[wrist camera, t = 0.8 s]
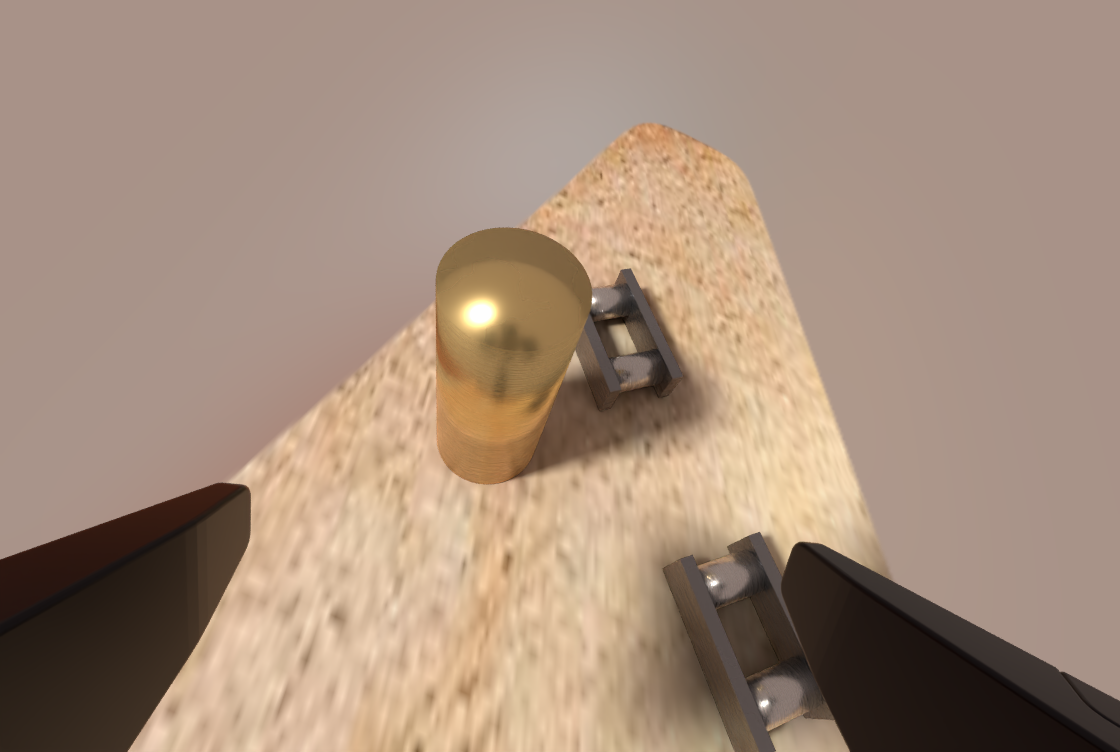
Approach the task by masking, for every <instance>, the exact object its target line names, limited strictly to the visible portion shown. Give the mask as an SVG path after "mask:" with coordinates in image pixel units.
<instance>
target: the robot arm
mask: <svg viewBox="0 0 1120 752" xmlns="http://www.w3.org/2000/svg"><path fill="white" fill-rule="evenodd" d="M250 531H251V493H250V490H249V488H248V487H247V486H246V485H241V484H231V483H216V484H213V485H210V486H208V487H205V488H202V489H199V490H196V491H193V492H190V493H188V494H185V495H182V496H179V497H176V498H174V499H171V500H168V501H165V502H162V503H159V504H156V505H154V506H151V507H148V508H145V509H142V510H140V511H137V512H134V513H131V514H128V515H125V516H122V517H120V518H117V519H114V520H111V521H108V522H105V523H103V524H100V525H97V526H94V527H92V528H89V529H85V530H83V531H80V532H77V533H74V534H71V535H68V536H66V537H63V538H60V539H57V540H54V541H51V542H49V543H46V544H43V545H40V546H37V547H34V548H32V549H29V550H26V551H23V552H20V553H17V554H15V555H12V556H9V557H6V558H4V559H1V560H0V752H128V750H129V749H130V747H131V745H132V744H133V742H134V741H135V739H136V738H137V736H138V735H139V733H140V732H141V730H142V729H143V727H144V726H145V724H146V722H147V721H148V719H149V718H150V716H151V715H152V713H153V712H154V710H155V709H156V707H157V706H158V704H159V703H160V701H161V699H162V698H163V696H164V695H165V693H166V692H167V690H168V689H169V687H170V686H171V684H172V683H173V681H174V679H175V678H176V676H177V675H178V673H179V672H180V670H181V669H182V667H183V666H184V664H185V663H186V661H187V660H188V658H189V656H190V655H191V653H192V652H193V650H194V648H195V647H196V645H197V643H198V642H199V640H200V638H201V637H202V635H203V633H204V631H205V629H206V627H207V625H208V624H209V622H210V620H211V618H212V616H213V614H214V612H215V610H216V608H217V606H218V604H219V602H220V600H221V598H222V596H223V594H224V592H225V590H226V588H227V586H228V584H229V582H230V580H231V578H232V576H233V574H234V572H235V570H236V568H237V566H238V564H239V562H240V561H241V559H242V557H243V555H244V553H245V551H246V548H247V546H248V543H249V539H250ZM781 593H782V597H783V600H784V602H785V605H786V607H787V610H788V613H789V615H790V618H791V620H792V623H793V625H794V628H795V631H796V633H797V636H798V638H799V641H800V644H801V646H802V649H803V651H804V654H805V657H806V659H807V662H808V664H809V667H810V669H811V672H812V674H813V676H814V679H815V681H816V683H817V685H818V687H819V690H820V692H821V694H822V696H823V698H824V700H825V702H826V704H827V706H828V708H829V710H830V712H831V714H832V716H833V718H834V720H835V722H836V724H837V726H838V728H839V730H840V732H841V734H842V736H843V738H844V740H845V742H846V744H847V746H848V748H849V750H850V752H1120V701H1119V700H1117V699H1114V698H1113V697H1111V696H1109V695H1107V694H1105V693H1103V692H1101V691H1099V690H1097V689H1095V688H1094V687H1092V686H1090V685H1088V684H1086V683H1084V682H1082V681H1080V680H1078V679H1077V678H1074V677H1073V676H1071V675H1069V674H1067V673H1065V672H1059V670H1058V669H1057V668H1056V667H1053V666H1052V665H1050V664H1048V663H1046V662H1044V661H1042V660H1040V659H1039V658H1037V657H1035V656H1033V655H1031V654H1029V653H1027V652H1025V651H1023V650H1022V649H1020V648H1018V647H1016V646H1014V645H1012V644H1010V643H1008V642H1006V641H1004V640H1003V639H1000V638H999V637H997V636H995V635H993V634H991V633H989V632H987V631H985V630H984V629H982V628H980V627H978V626H976V625H974V624H972V623H970V622H968V621H967V620H965V619H963V618H961V617H959V616H957V615H955V614H953V613H951V612H950V611H948V610H946V609H944V608H942V607H940V606H938V605H936V604H934V603H932V602H931V601H929V600H927V599H925V598H923V597H921V596H919V595H917V594H915V593H914V592H911V591H910V590H908V589H906V588H904V587H902V586H900V585H898V584H896V583H895V582H893V581H891V580H889V579H887V578H885V577H883V576H881V575H879V574H878V573H876V572H874V571H872V570H870V569H868V568H866V567H864V566H862V565H860V564H859V563H857V562H855V561H853V560H851V559H849V558H847V557H845V556H843V555H842V554H840V553H838V552H836V551H834V550H832V549H830V548H828V547H826V546H824V545H822V544H819V543H811V542H798V543H796V544H795V545H794V547H793V548H792V551H791V554H790V557H789V560H788V562H787V565H786V568H785V571H784V574H783V577H782V580H781Z"/></svg>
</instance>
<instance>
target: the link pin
mask: <svg viewBox="0 0 1120 752" xmlns="http://www.w3.org/2000/svg"><path fill="white" fill-rule="evenodd" d="M591 305H592V287H591V283H590V280H589V277H588V275H587V273H586V271H585V269H584V267H583V266H582V264H581V263H580V262H579V261H578V259H577V258H576V257H575V256H574V255H573V254H572V253H571V252H570V251H569V250H568V249H566V248H565V247H564V246H562V245H561V244H559V243H558V242H556V241H554V240H553V239H551V238H549V237H547V236H544V235H542V234H539V233H536V232H533V231H529V230H524V229H519V228H492V229H486V230H482V231H478V232H476V233H473V234H470V235H468V236H466V237H464V238H462V239H461V240H459V241H458V242H456V243H455V244H454V245H453V246H452V247H451V248H450V249H449V250H448V251H447V252H446V253H445V255H444V256H443V258H442V260H441V261H440V264H439V266H438V270H437V274H436V399H437V446H438V450H439V453H440V455H441V458H442V459H443V461H444V463H445V464H446V465H447V466H448V468H449V469H450V470H451V471H453V472H454V473H455V474H456V475H458V476H459V477H461V478H463V479H465V480H467V481H470V482H474V483H478V484H496V483H501V482H504V481H507V480H509V479H511V478H513V477H515V476H516V475H518V474H519V473H520V472H522V470H523V469H524V468H525V467H526V466H527V465H528V463H529V462H530V460H531V458H532V456H533V454H534V451H535V449H536V446H537V444H538V441H539V439H540V436H541V434H542V431H543V429H544V426H545V424H546V421H547V419H548V416H549V414H550V411H551V409H552V406H553V403H554V401H555V398H556V396H557V393H558V391H559V388H560V386H561V383H562V381H563V378H564V376H565V373H566V371H567V368H568V366H569V363H570V361H571V358H572V356H573V353H574V351H575V348H576V346H577V343H578V341H579V338H580V336H581V333H582V330H583V328H584V325H585V323H586V320H587V318H588V315H589V313H590V310H591Z"/></svg>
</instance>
